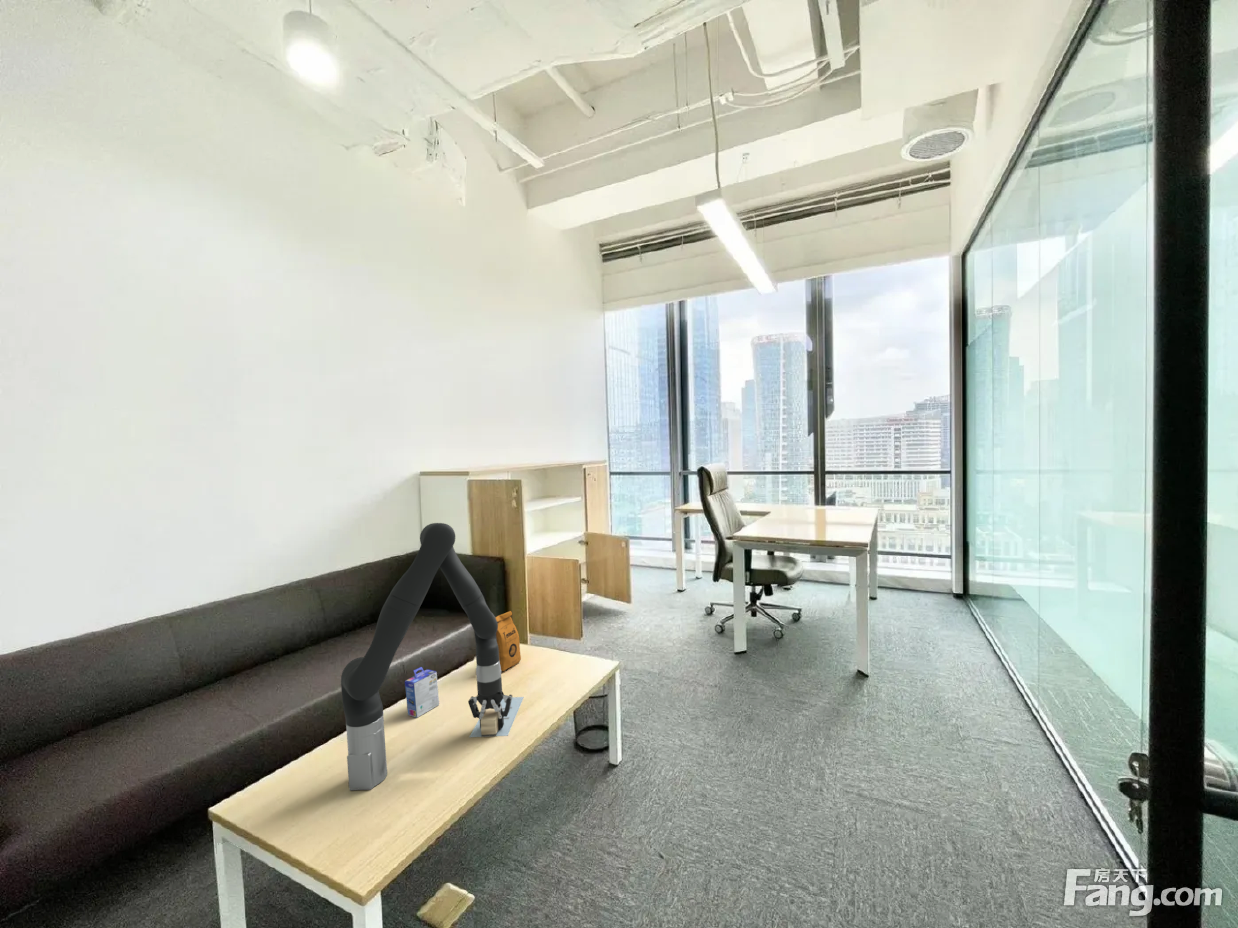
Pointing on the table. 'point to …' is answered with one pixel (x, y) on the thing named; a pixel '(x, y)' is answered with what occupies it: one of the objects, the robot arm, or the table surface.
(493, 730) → the block
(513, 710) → the board
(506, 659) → the coffee package
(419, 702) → the ink cartridge box
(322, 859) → the table surface
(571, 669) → the table surface
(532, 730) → the table surface
